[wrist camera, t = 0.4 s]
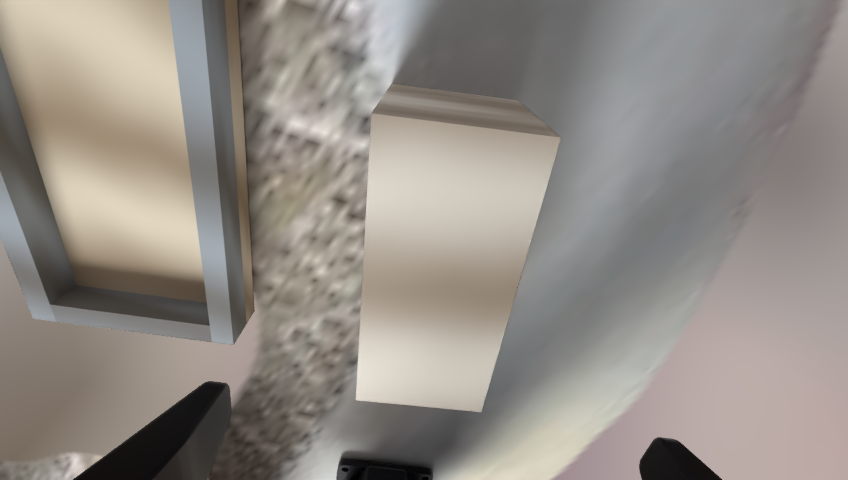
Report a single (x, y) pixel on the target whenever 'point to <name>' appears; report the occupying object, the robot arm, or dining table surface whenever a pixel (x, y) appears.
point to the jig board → (126, 164)
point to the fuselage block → (445, 241)
